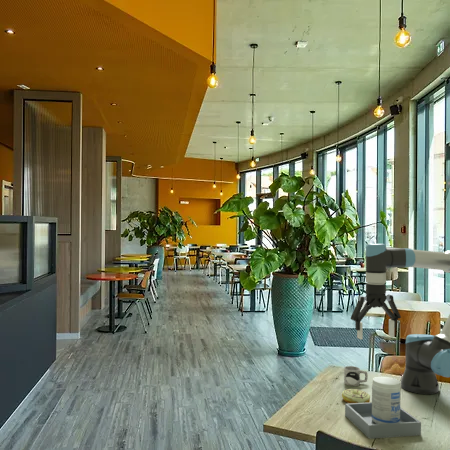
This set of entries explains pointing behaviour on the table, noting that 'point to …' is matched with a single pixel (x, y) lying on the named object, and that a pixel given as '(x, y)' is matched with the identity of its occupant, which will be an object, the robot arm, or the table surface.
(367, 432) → the bin
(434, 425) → the table surface
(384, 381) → the supplement tub
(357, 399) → the decorated donut
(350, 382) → the mug
